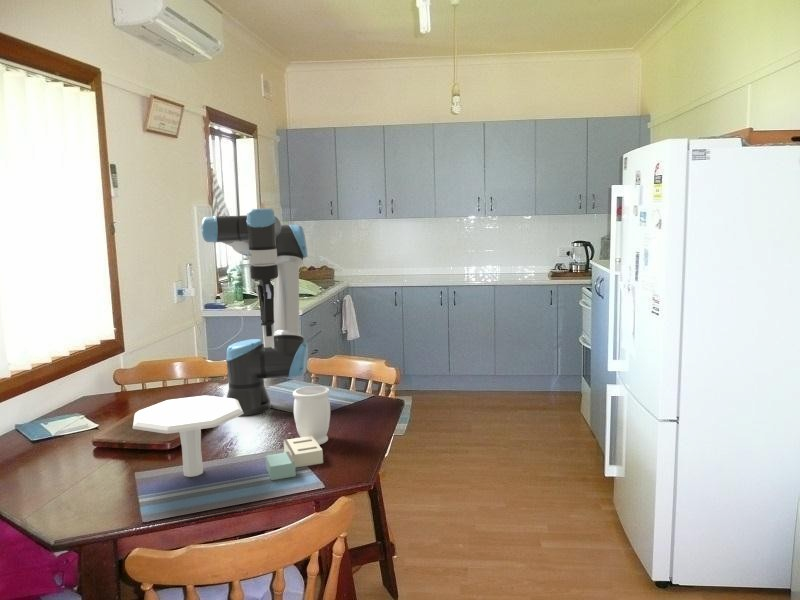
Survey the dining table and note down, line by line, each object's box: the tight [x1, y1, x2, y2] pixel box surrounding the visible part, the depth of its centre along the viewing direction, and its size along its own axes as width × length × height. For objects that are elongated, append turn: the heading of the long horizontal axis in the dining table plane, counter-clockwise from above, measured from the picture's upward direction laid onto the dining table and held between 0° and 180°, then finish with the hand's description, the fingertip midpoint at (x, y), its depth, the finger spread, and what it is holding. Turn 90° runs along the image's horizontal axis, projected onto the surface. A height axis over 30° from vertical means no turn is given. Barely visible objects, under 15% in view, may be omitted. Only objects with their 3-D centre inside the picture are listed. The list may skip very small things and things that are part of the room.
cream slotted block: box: [283, 436, 324, 469], centre depth 170 cm, size 12×8×4 cm, turn 21°
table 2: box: [132, 394, 244, 478], centre depth 161 cm, size 28×28×17 cm
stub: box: [265, 451, 297, 481], centre depth 161 cm, size 8×6×4 cm
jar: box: [292, 385, 331, 446], centre depth 182 cm, size 11×10×15 cm
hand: (269, 346), depth 182 cm, fingers closed
